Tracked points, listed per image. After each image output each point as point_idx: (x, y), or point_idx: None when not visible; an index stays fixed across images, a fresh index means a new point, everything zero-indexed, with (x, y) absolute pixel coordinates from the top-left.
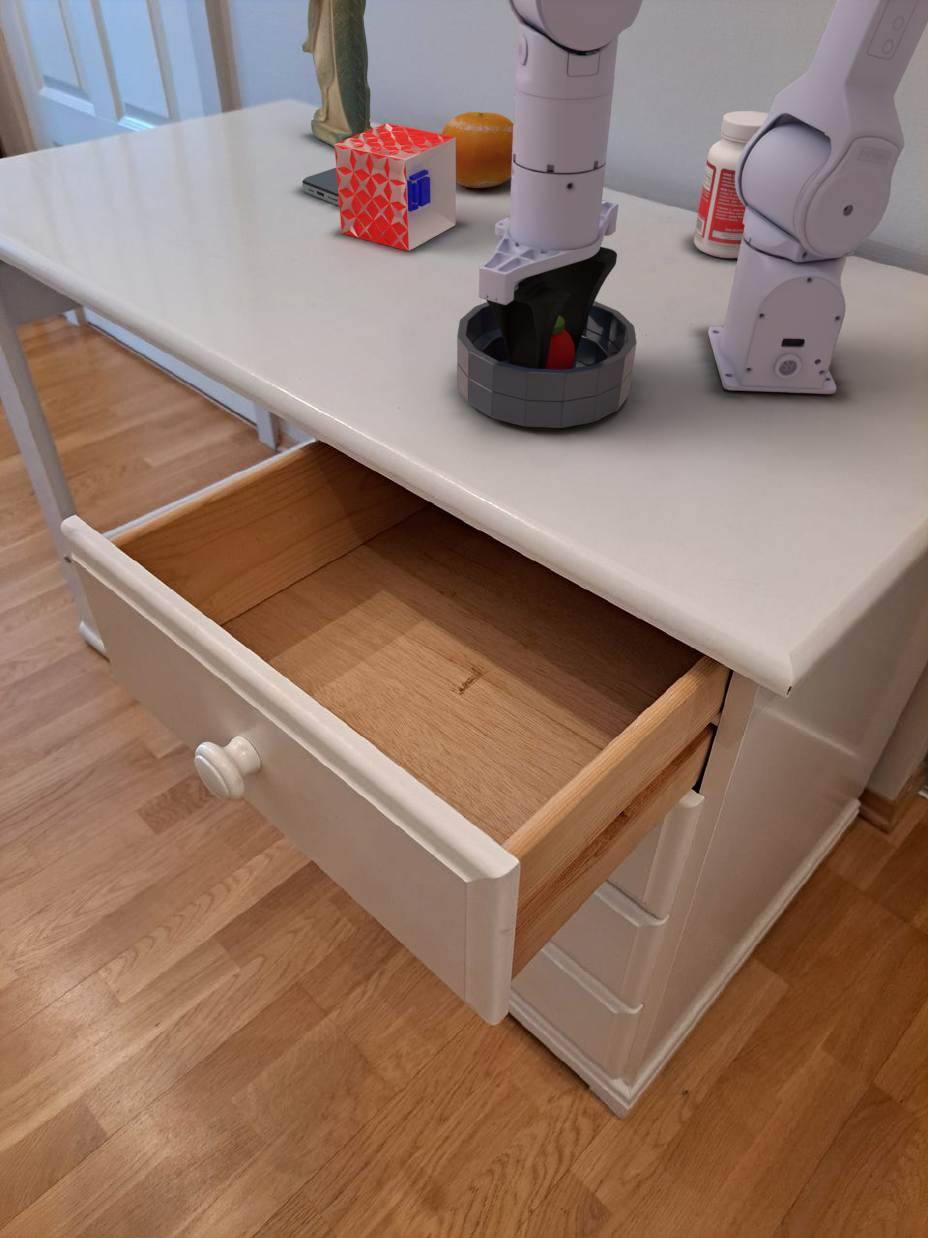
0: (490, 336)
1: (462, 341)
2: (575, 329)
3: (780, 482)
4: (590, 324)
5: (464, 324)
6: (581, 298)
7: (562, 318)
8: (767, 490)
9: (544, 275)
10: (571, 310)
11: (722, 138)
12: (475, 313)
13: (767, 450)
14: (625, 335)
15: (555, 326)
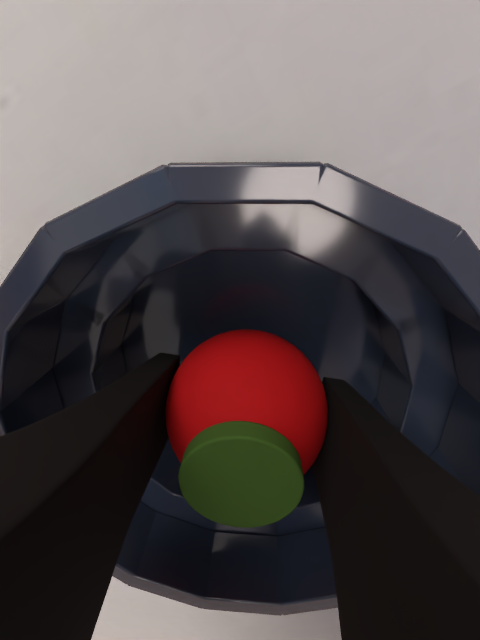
0: (297, 236)
1: (14, 267)
2: (322, 492)
3: (178, 622)
4: (439, 463)
5: (136, 207)
6: (348, 604)
7: (277, 518)
8: (157, 616)
9: (429, 560)
10: (341, 529)
11: None
12: (254, 201)
13: (234, 612)
14: (332, 577)
15: (215, 515)
